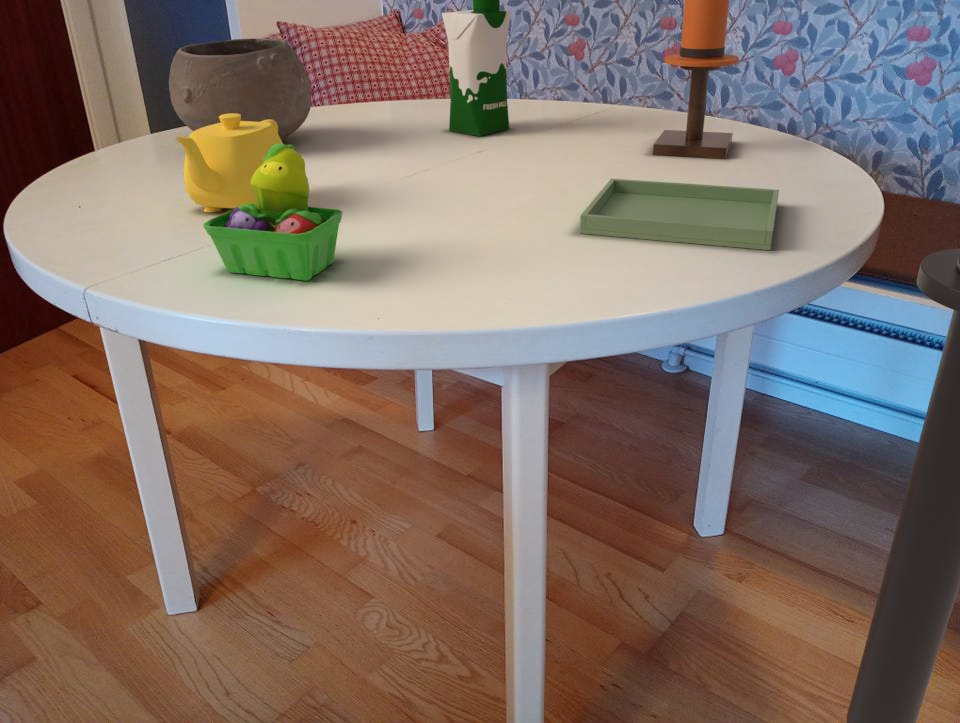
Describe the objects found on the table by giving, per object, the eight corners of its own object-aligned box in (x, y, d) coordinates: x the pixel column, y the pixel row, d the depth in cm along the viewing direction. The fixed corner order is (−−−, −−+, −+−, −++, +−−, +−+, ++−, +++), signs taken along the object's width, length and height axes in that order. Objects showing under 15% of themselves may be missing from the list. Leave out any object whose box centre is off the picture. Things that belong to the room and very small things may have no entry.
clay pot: (319, 153, 122) (307, 46, 115) (173, 164, 119) (151, 54, 112) (314, 126, 141) (303, 32, 134) (187, 135, 137) (169, 38, 130)
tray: (776, 206, 93) (779, 189, 92) (770, 250, 81) (773, 231, 80) (610, 194, 99) (610, 178, 98) (579, 233, 87) (580, 215, 86)
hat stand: (731, 143, 122) (741, 57, 116) (725, 158, 114) (735, 67, 108) (663, 139, 125) (670, 56, 119) (652, 154, 117) (659, 66, 111)
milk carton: (480, 138, 129) (476, -1, 120) (440, 131, 134) (434, -2, 125) (517, 129, 134) (516, -4, 125) (477, 122, 140) (474, -6, 131)
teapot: (233, 234, 89) (216, 134, 84) (152, 225, 93) (131, 129, 88) (319, 190, 104) (309, 103, 99) (247, 184, 108) (233, 99, 103)
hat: (741, 57, 116) (749, -9, 112) (735, 67, 108) (743, -4, 104) (670, 56, 119) (675, -9, 116) (659, 66, 111) (664, -4, 107)
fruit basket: (207, 276, 78) (185, 157, 73) (258, 246, 86) (241, 136, 81) (312, 288, 75) (297, 165, 70) (356, 256, 82) (345, 142, 77)
